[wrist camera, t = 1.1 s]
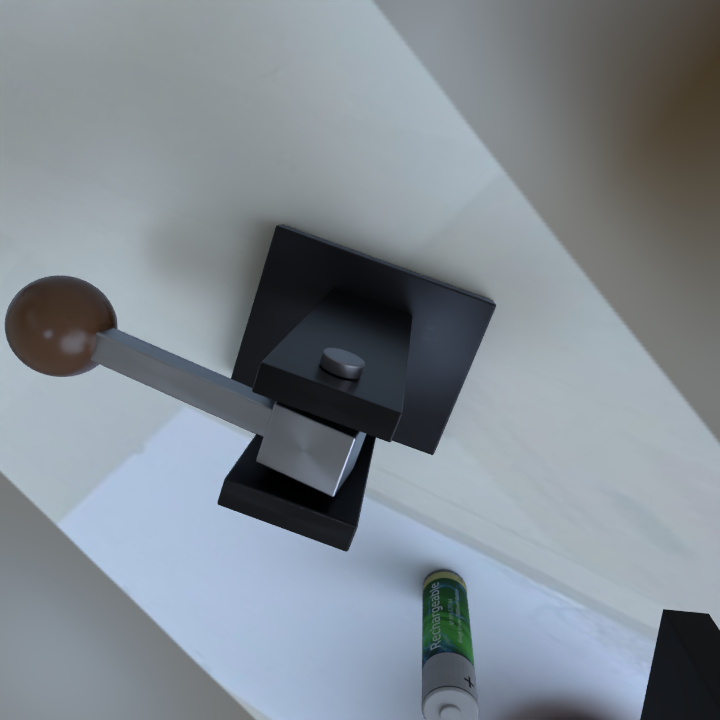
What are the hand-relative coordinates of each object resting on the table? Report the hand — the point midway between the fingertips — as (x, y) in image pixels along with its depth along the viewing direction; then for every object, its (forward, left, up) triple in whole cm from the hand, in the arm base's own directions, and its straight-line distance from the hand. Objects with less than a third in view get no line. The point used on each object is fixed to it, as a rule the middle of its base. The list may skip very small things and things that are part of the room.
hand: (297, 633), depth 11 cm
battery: (+13, +9, -23) cm, 28 cm away
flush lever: (0, -6, -11) cm, 13 cm away
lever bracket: (0, -1, -23) cm, 23 cm away
